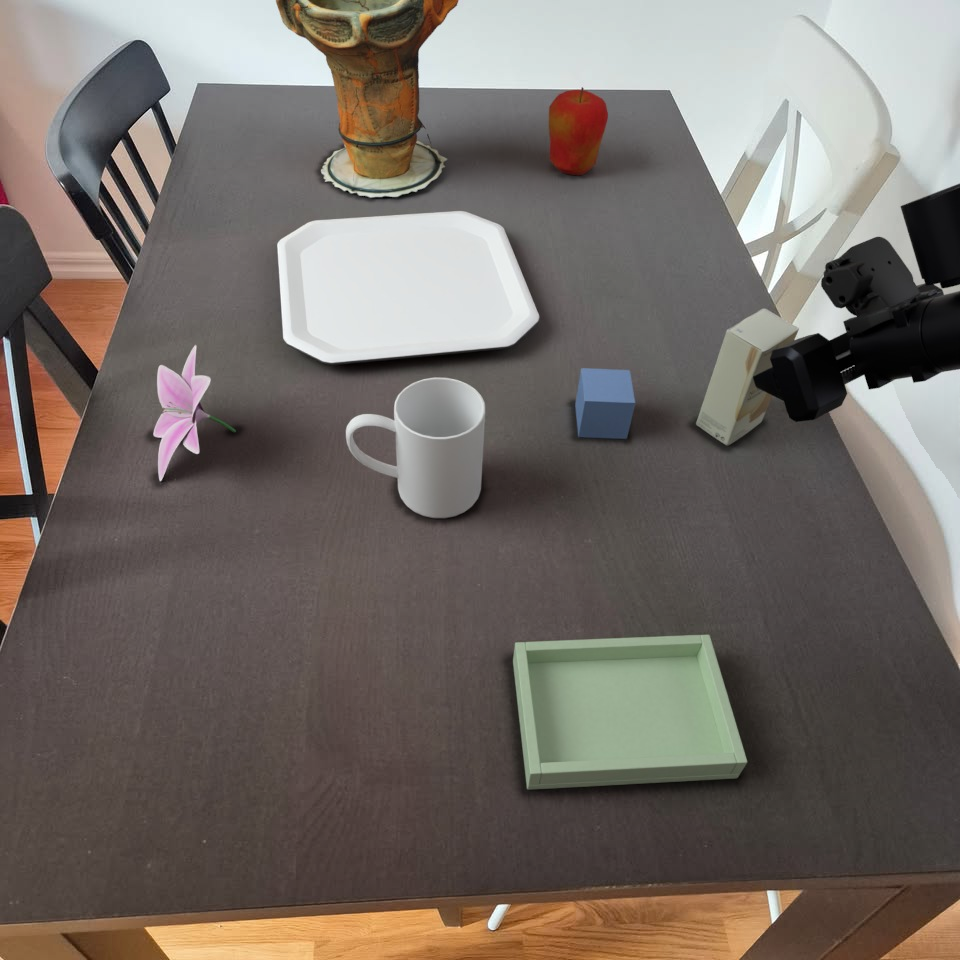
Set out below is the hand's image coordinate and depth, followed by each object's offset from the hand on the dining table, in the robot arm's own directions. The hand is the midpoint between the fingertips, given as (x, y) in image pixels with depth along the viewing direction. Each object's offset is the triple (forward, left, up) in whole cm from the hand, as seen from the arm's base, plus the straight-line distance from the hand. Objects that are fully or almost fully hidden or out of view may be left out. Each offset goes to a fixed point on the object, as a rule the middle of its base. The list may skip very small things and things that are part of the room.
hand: (790, 365), depth 77 cm
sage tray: (+9, +34, -11) cm, 36 cm away
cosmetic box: (+3, -3, -11) cm, 12 cm away
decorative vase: (+57, -42, -11) cm, 71 cm away
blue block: (+16, +1, -11) cm, 19 cm away
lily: (+54, +17, -11) cm, 58 cm away
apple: (+30, -52, -11) cm, 61 cm away
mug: (+31, +16, -11) cm, 37 cm away
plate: (+43, -14, -11) cm, 46 cm away
